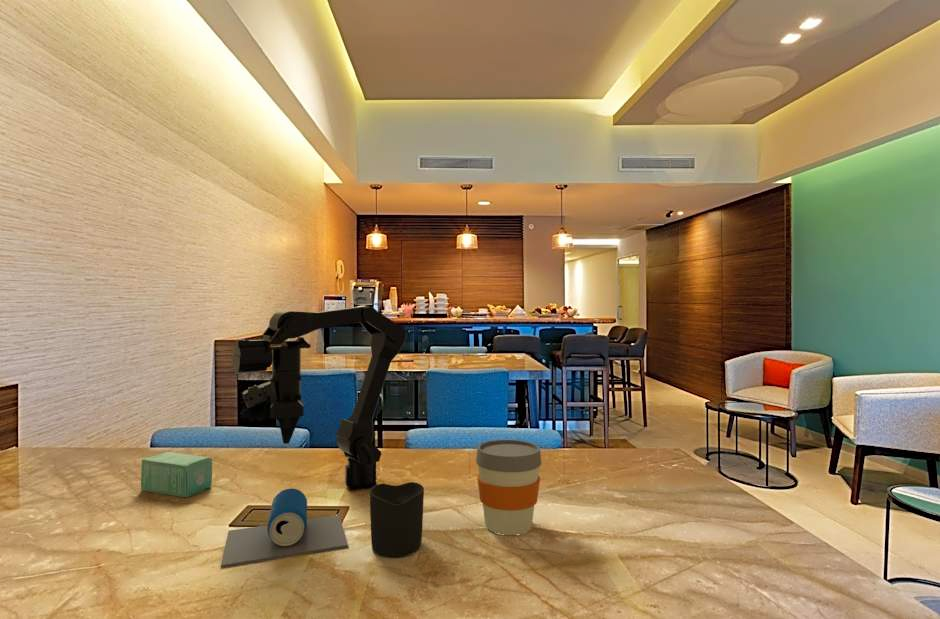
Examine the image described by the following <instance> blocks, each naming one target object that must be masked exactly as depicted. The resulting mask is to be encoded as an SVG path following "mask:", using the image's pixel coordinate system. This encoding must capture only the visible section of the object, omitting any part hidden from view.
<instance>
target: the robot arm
mask: <svg viewBox="0 0 940 619" xmlns="http://www.w3.org/2000/svg"><path fill="white" fill-rule="evenodd" d="M359 323H360V324H361V326H362V327H363V328H364V330H365V331H366V333H368V334H369V335H370V336H371V340H370V348H371V350H370V351H371V358H370V361H369V364H368V367H367V369H366V373H365V376H364V379H363V382H362V385H361V389H360V391H359V394H358V396H357V397H358V398H357V399H356V402H355V406H354V408H353V412H352V414H351V415H350V416H348V418H347V419H345V418H341V419H340V421H339V422H340V423H339V428H338V430H337V432H336V433H335V436H336V445H337V446H338V448H339V449H340V451H342V452H343V455H344V457H345V458H347V464H346V465H344V483H345V485H346V487H347V488H348V490H349V491H350V492H351V491H353V492H354V491H359V490H368V489H369V490H370V489H371V488H372V487H373V486H375V485H378V483H377V462H379V461H380V460H381V456H382V451H381V450H380V449H379V448H378V447H376V446H375V445H374V444H373V439H374V434H375V432H374V422H373V419H374V416H375V413H376V409H377V406H378V403H379V400H380V396H381V394H382V390H383V388H384V385H385V381H386V378H387V375H388V371H389V370H390V369H389V368H390V365H391V363H392V361H393V360H394V359H395V358H396V357H397V355H398V354H399V353H400V352H401V350H402V349H403V347H404V346H403V345H404V344H405V342H406V339H407V332H406V331H405V328H404V326H403V325H401V324H400V323H395V322H394V321H393V320H391V319H390V318H389V317H387V316H385V315H384V314H382V313H381V312H379V311H378V310H377V309H376V308H375V307H374V306H372V305H369V304H367V305H364V304H363V305H358V306H354V307H353V306H352V307H347V308H346V307H345V308H338V309H332V310H331V309H329V310H324V311H323V310H321V311H315V312H314V311H313V312H309V311H294V310H293V311H289V310H287V311H286V310H285V311H284V310H281V311H277V312H275V313H273V315H272V316H271V317H270V319H269V323H268V326H267V328H266V330H264V332H263V333H262V335H261V336H260V337H259V339H242V338H241V339H240V338H239V339H236V340H235V345H234V348H233V350H232V355H231V365H232V369H233V372H234V374H247V373H249V374H250V373H262V372H264V373H265V372H266V371H267V369H268V368H270V367H271V366H272V367H271V370H272V372H271V374H272V375H270V380H269V381H268V382H267V381H266V382H264V383H261V384H259V385H257V384H254V385H253V386H251V387H250V386H249V387H248V389H246V390H244V391H243V392H242V394H241V395H242V397H243V400H244V402H245V405H246V407H247V409H249V408H254V407H255V406H256V405H257V404H260V403H263V402H266V401H268V400H269V402H270V407H269V408H270V409H269V415H270V416H269V417H270V419H275V420H277V422H278V424H279V428H280V432H281V438H282V443H283V444H285V445H287V444H289V443H290V441H291V439H292V437H293V434H294V432H295V429H296V428H297V425H298V423H299V420H300V418H301V417H304V414H305V413H304V407H305V406H304V403H303V402H301V400H302V394H301V393H302V392H301V383H302V382H301V381H302V375H301V374H302V373H301V371H302V370H301V367H302V366H301V365H302V364H301V361H302V359H301V358H302V356H301V351H302V350H301V349H310V348H311V347H312V346H311V345H312V344H310V343H308V342H307V341H306V339H305V338H304V337H303V336H305V335H308V334H310V333H313V332H314V331H317V330H319V329H326V328H333V327H340V326H347V325H352V324H359ZM288 339H289V340H288ZM290 339H295V340H290ZM271 345H272V346H271Z"/></svg>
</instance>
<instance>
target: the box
mask: <svg viewBox="0 0 940 619" xmlns="http://www.w3.org/2000/svg"><path fill="white" fill-rule="evenodd" d="M140 479H141V480H140V490H141V492H142V491H143V492H149V493H154V494H162V495H167V496H172V497H173V496H174V497H178V498H179V497H180V498H184V497H187V498H188V496H189V497H192V496H194V495H195V494H198V493H201V492H203V491H205V490H207V488H208V489H210V488H211V486H212V480H213V459H212V458H211V457H210V456H201V455H195V454H188V453H179V452H172V451H166V452H163V453H159V454H156V455H153V456H149V457H146V458H142V459H141V476H140ZM200 491H201V492H200ZM193 494H194V495H193Z"/></svg>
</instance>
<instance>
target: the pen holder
mask: <svg viewBox="0 0 940 619" xmlns="http://www.w3.org/2000/svg"><path fill="white" fill-rule="evenodd" d="M424 493H425V487H424V485H422V484H420V483H419V482H414V481H410V482H405V483H403V484H399V485H396V484H395V485H393V484H387V483H379V484H378V483H377V485H375V486H373V487H372V488H369V512H370V513H369V514H370V515H369V516H370V537H371V538H370V539H371V541H370V542H371V549H372V551H373V552H374V553H375V554H376V555H378V556H380V557H384V558H389V559H397V558H398V559H399V558H405V557H409V556H410V555H413V554H415V553H416V552H418V551H419V550H420V548H421V546H422V542H423V540H422V538H423V522H424V501H425V500H424V499H425V498H424V496H425V494H424Z"/></svg>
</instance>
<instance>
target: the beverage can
mask: <svg viewBox="0 0 940 619" xmlns="http://www.w3.org/2000/svg"><path fill="white" fill-rule="evenodd" d="M307 500H308V499H307V497H306V495H305V493H303V491H301V490H299V489H298V488H286V489H283V490H282V491H280V492H278V493H277V494H276V495H275V497H274V498H273V499H272V502H271V507H270V513H269V516H268V523H267V525H268V527H267V531H268V535H269V537H270V539H271V540H272V541H273V542H275V543H276V544H278V545H281V546H288V545H292V544H294V543H296V542H297V541H298V540H299V539H300V538H301V537H302V536H303V535H304V533H305V531H306V527H307V520H308V501H307ZM288 522H289V523H288Z"/></svg>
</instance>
